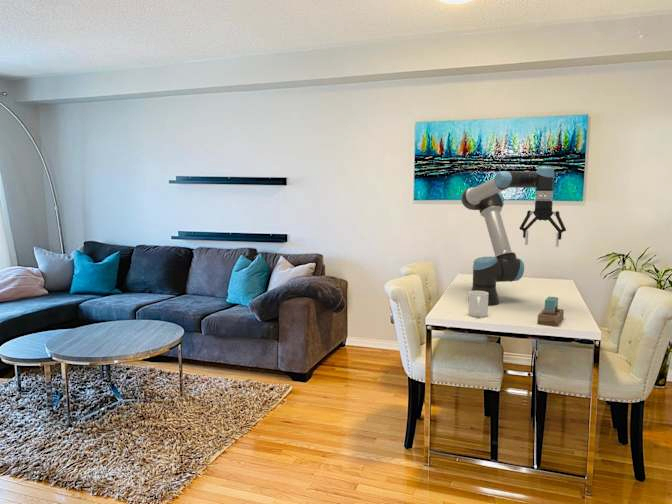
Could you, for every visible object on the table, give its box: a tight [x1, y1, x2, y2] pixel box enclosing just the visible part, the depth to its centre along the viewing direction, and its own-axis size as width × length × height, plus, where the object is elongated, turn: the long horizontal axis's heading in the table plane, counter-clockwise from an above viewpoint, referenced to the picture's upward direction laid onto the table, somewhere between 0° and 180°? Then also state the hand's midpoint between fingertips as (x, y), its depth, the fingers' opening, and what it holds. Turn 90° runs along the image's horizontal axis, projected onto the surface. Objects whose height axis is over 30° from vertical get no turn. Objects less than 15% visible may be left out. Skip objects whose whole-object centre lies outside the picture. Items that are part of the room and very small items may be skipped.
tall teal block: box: [544, 296, 559, 315], centre depth 228 cm, size 10×4×10 cm, turn 149°
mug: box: [468, 290, 489, 318], centre depth 237 cm, size 9×12×11 cm
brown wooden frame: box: [536, 307, 565, 327], centre depth 229 cm, size 18×8×4 cm, turn 149°
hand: (541, 245), depth 243 cm, fingers open, 13 cm apart
